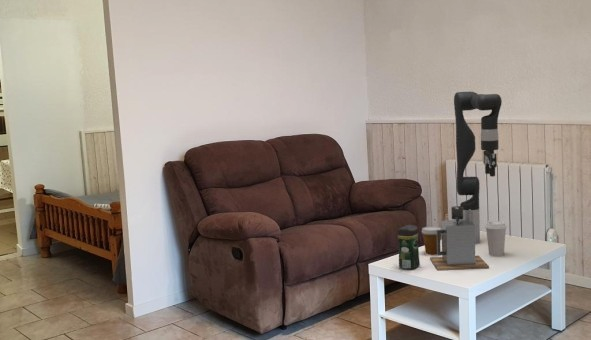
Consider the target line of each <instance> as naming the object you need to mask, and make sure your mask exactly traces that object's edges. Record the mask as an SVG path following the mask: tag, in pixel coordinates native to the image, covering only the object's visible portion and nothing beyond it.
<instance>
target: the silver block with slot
mask: <svg viewBox="0 0 591 340" xmlns="http://www.w3.org/2000/svg"><path fill="white" fill-rule="evenodd" d="M440 226H441V227H440V228H441V230H436V233H437V254H436V256H441V257H442V259H443V260H444V262H445V263H446V265H447V266H456V265H475V256H476V244H475V224H473V223H472V222H471V221H470V220H469V219H466V220H461V219H460V220H459V223H456V220H455V219H448V220H447V219H446V220H440ZM440 233H441V241H440Z"/></svg>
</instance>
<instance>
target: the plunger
mask: <svg viewBox="0 0 591 340" xmlns="http://www.w3.org/2000/svg"><path fill="white" fill-rule="evenodd" d="M450 211H451V220H456V223H459V220H461V219H463V207H461V206H460V205H459V206H457V205H454V206H451V210H450Z"/></svg>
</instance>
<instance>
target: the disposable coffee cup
mask: <svg viewBox="0 0 591 340" xmlns="http://www.w3.org/2000/svg"><path fill="white" fill-rule="evenodd" d="M421 229H422V230H421V233H422V237H423V243H424V250H425V251H424V252H425V254H426V255H429V256H434V255H436V256H437V233H436V230H441V227H439V226H425V227H422V228H421ZM440 242H442V233H440Z"/></svg>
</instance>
